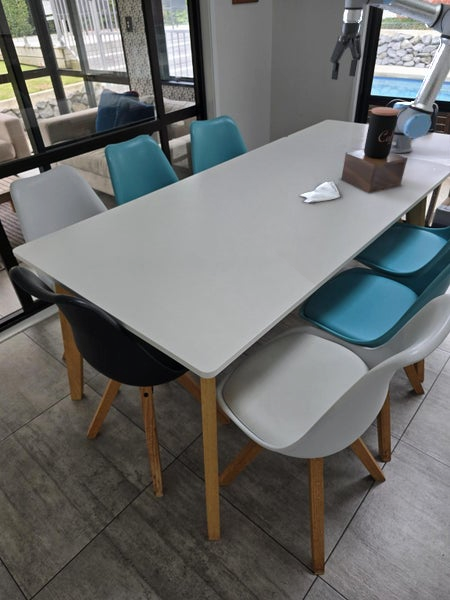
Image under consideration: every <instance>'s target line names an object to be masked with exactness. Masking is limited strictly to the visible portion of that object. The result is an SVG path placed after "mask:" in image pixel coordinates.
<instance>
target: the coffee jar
mask: <svg viewBox="0 0 450 600" xmlns="http://www.w3.org/2000/svg"><path fill="white" fill-rule="evenodd" d="M398 114H399V110H397V109H394V108H393V107H387V106H385V107H384V106H381V107H380V106H379V107H373V108H371V114H370V117H369V121H368V127H367V132H366V137H365V143H364V148H363V149H364V154H365V156H367V157H370V158H376V159H382V158H386V157H387V156H388V155H389V154H390V150H391V145H392V141H393V137H394V132H395V128H396V124H397V119H398V117H397V115H398Z"/></svg>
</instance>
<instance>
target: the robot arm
mask: <svg viewBox="0 0 450 600" xmlns="http://www.w3.org/2000/svg"><path fill="white" fill-rule="evenodd" d="M344 2H345V3H344V10H343V16H342V21H343V22H342V24H341V31H340V32H341V33H342V35H338V36H337V40H336V43H335V46H334V49H333V51H332V54H331V57H330V60H329V61H330V63H332V68H331V70H332V71H331V72H332V73H331V80H334V81H338V79H339V77H338V76H339V70H340V64H341V63H340V60H341V59H342V56H343V55H344V53H345V51H346V50H347V49H348V48H349V51H350V53H351V54H350V55H351V57H352V59H351V60H350V67H349V74H348V75H349V76H350V77H356V73H357V67H358V62H359V61H360V60H361V58H362V44H361V37H362V36H361V35H362V34H359V32H360V29H361V21H362V16H363V9H364V6H372V7H375V8H377V9H381V10H384V11H387V12H390V13H392V14H396V15H399V16H402V17H404V18H408V19H411V20H413V21H418V22H420V23H423V24H425V27H426V28H429V29H431V30H434V31H436V32H438V33H440V37H439V40H440V45H439V47H438V49H437V50H436V53H435V55H434V58H433V60H432V62H431V64H430V67H429V69H428V71H427V73H426V75H425V77H424V79H423V82H422V83H421V86H420V87H419V90H418V92H417V94H416V96H415V99H414V101H411V102H396V103H394V104H393V107H392V108H394V109H397V110H399V114H398V115H397V117H398V119H397V124H396V128H395V132H394V137H393V141H392V145H391V150H390V152H392V153H395V154H407V153H409V152H411V151H412V139H418V138H420V137H423V136H424V135H425V134H427V133H430V132H433V131H434V129H433V128H431V126H432V118H431V117H432V116H433V113H434V108H433V106H434V104H435V101H436V99H437V97H438V96H439V93H440V92H441V89H442V87H443V86H444V83H445V81H446V79H447V77H448V75H449V74H450V4H449V3H443V2H439V1H437V2H436V3H433V2H430V1H428V0H345V1H344ZM430 128H431V129H430Z"/></svg>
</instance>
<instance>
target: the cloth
mask: <svg viewBox="0 0 450 600" xmlns="http://www.w3.org/2000/svg"><path fill="white" fill-rule="evenodd" d="M299 196H300V197H303V198H306V199H305V200H304V201H303V202H304V203H307V204H308V203H311V204H312V203H318V202H319V203H320V202H324V201H330V200H334V199H337V198H340V197H341V196H340V192H339V189H338V188H337V186H336V184H335V182H334V180H331V181H325V182H323V183H320V184H319V185H318V186H317V187H316V188H315V189H314V190H311V191H307V192H304V193H302V194H299Z"/></svg>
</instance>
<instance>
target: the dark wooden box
mask: <svg viewBox="0 0 450 600" xmlns="http://www.w3.org/2000/svg"><path fill="white" fill-rule="evenodd" d="M343 160H344V161H343V167H342V173H341V179H340V180H341V181H343V182H345V183H348V184H350V185H351V186H354V187H355V188H357V189H359V190H362V191H364V192H366V193H367V194H370V193H375V192H379V191H384V190H387V189H391V188H396V187H400V186H402V181H403V178H404V174H405V169H406V166H407V161H408V157H405V156H403V155H401V154H399V153H392V152H390V154H389V155H388V156H387V157H386V158H382V159H376V158H370V157H367V156H365V154H364V148H363V149H358V150H352V151H346V152H345V156H344V159H343Z"/></svg>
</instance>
